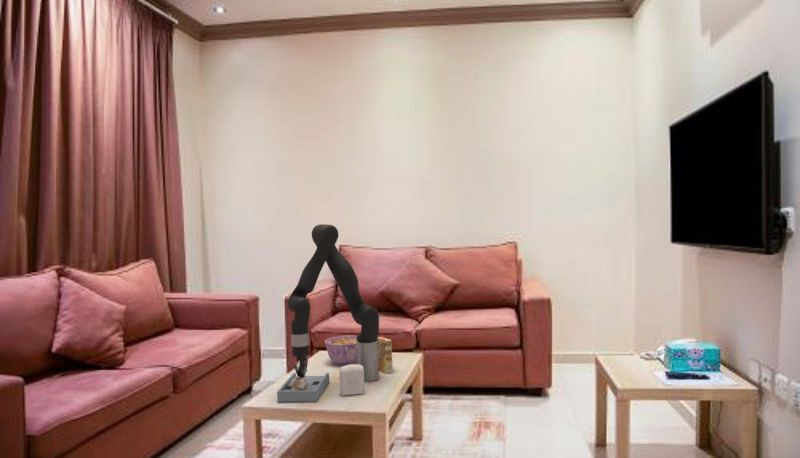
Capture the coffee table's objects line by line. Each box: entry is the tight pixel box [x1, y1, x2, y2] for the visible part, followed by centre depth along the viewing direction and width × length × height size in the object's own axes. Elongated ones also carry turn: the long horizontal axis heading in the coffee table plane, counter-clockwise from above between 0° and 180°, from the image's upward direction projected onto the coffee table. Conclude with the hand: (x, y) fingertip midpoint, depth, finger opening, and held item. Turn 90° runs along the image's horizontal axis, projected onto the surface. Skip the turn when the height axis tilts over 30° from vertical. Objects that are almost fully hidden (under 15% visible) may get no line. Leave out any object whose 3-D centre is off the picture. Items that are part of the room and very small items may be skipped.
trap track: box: [276, 372, 330, 403], centre depth 249 cm, size 16×26×4 cm, turn 176°
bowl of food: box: [324, 334, 358, 366], centre depth 292 cm, size 20×20×12 cm
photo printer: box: [339, 363, 365, 397], centre depth 244 cm, size 10×4×12 cm, turn 103°
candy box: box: [377, 336, 394, 374], centre depth 276 cm, size 9×4×15 cm, turn 33°
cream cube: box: [291, 377, 307, 391], centre depth 240 cm, size 5×5×5 cm
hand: (302, 384), depth 245 cm, fingers closed
